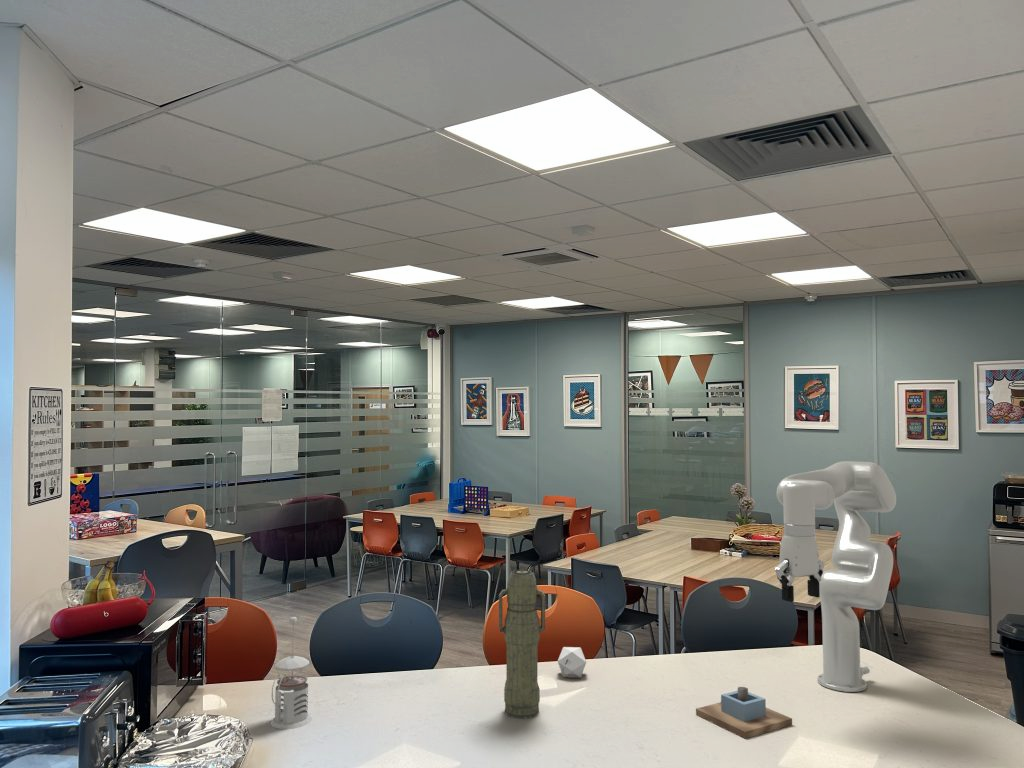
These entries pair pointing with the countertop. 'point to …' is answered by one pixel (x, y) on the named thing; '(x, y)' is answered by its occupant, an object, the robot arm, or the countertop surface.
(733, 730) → the post board
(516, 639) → the thermos
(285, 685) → the french press
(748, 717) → the slate ring
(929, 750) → the countertop surface
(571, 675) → the die
